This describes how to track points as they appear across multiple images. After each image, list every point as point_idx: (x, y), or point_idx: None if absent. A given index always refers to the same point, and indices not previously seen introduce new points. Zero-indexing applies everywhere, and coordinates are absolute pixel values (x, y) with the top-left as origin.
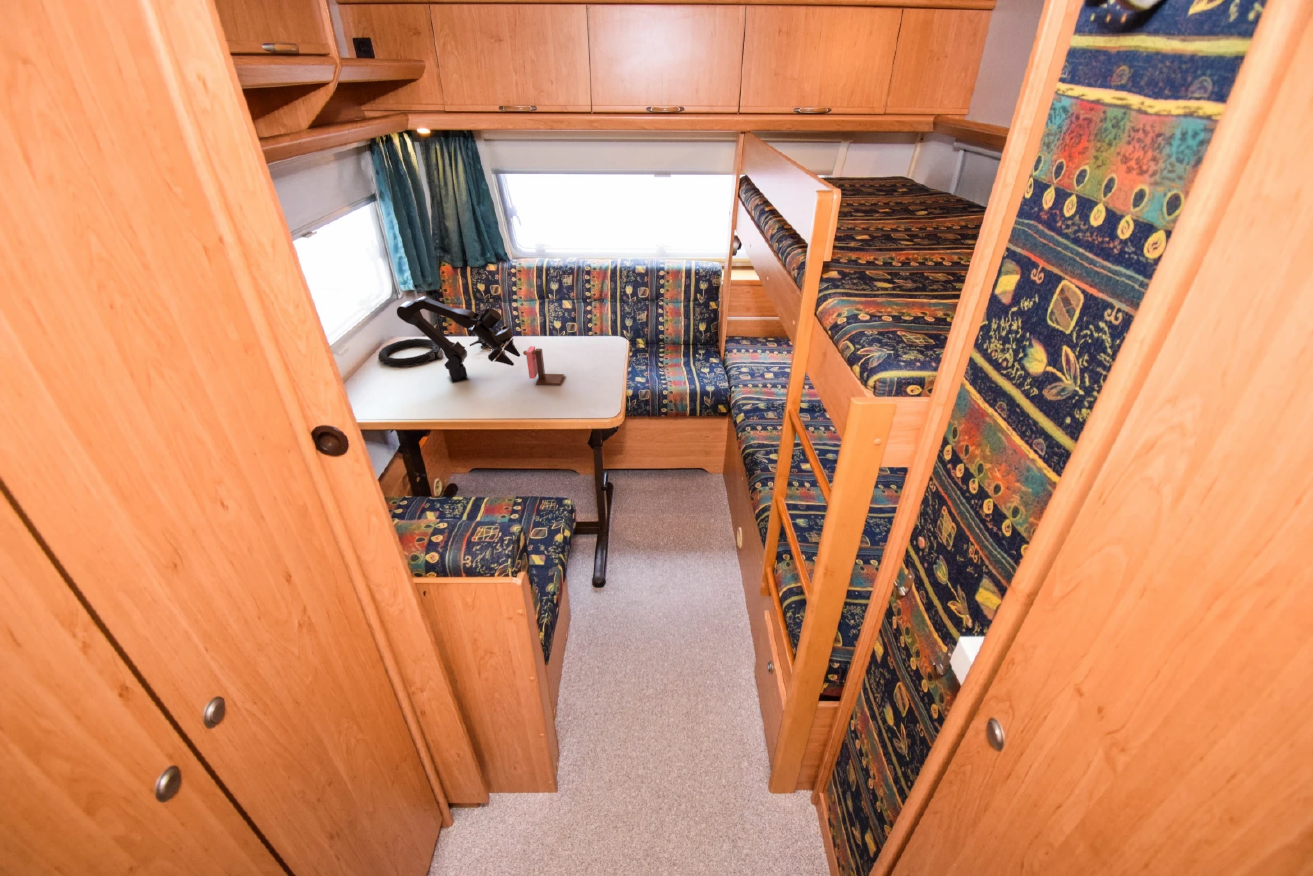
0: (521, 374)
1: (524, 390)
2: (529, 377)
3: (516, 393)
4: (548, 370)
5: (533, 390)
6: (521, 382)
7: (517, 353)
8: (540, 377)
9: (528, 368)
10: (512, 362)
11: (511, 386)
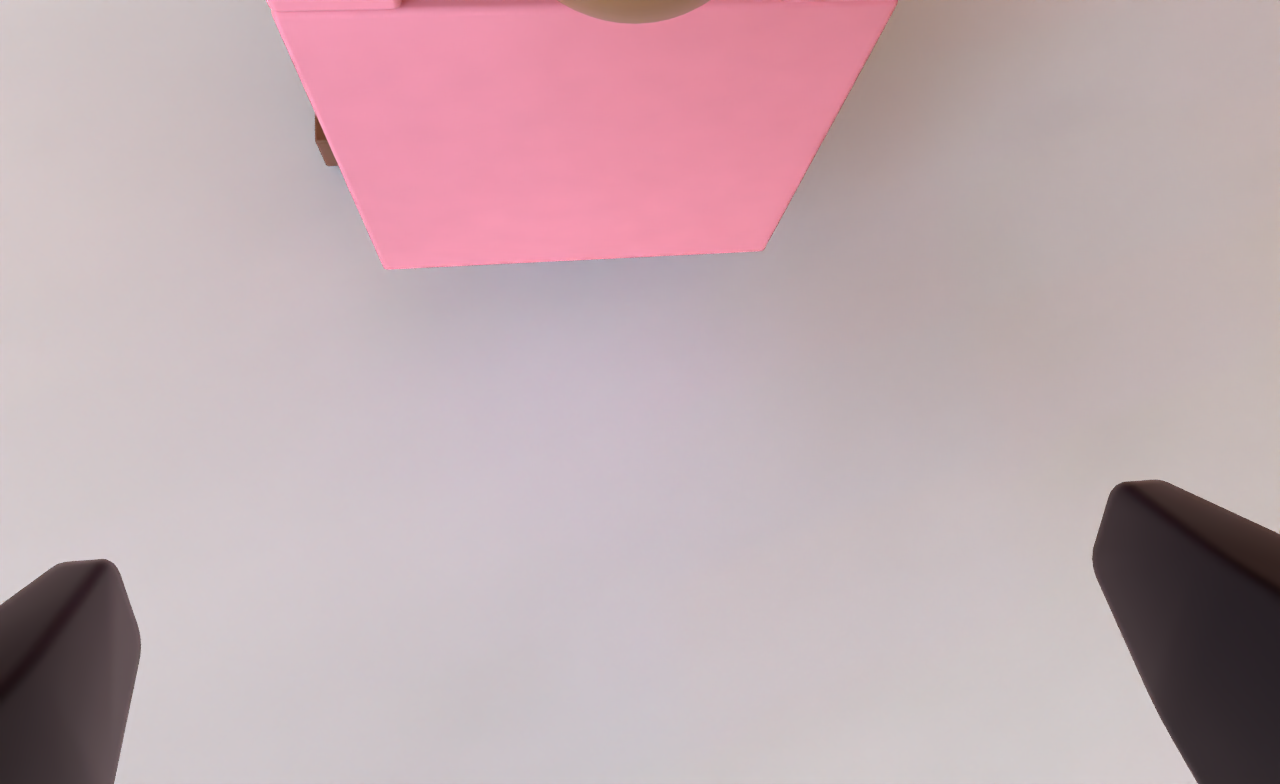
0: (282, 664)
1: (1075, 307)
2: (768, 237)
3: (1239, 424)
4: (25, 93)
5: (1033, 136)
6: (726, 501)
7: (57, 691)
8: None
9: (839, 101)
10: (1233, 523)
11: (963, 661)
